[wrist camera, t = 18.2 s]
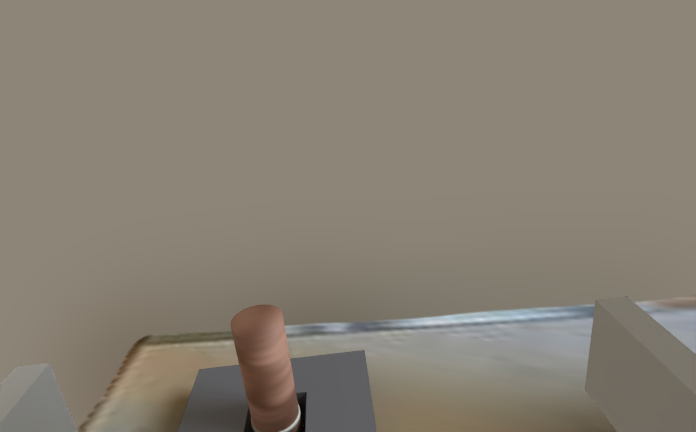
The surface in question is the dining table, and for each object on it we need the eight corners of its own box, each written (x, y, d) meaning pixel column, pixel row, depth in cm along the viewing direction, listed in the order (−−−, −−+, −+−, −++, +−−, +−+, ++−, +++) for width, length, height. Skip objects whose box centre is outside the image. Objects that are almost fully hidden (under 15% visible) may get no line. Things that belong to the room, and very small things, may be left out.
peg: (306, 425, 51) (285, 301, 45) (304, 463, 46) (281, 331, 40) (261, 430, 51) (234, 307, 45) (255, 470, 46) (224, 338, 40)
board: (366, 376, 57) (364, 350, 56) (387, 517, 40) (384, 484, 39) (206, 395, 57) (199, 369, 55) (159, 545, 40) (147, 513, 39)
